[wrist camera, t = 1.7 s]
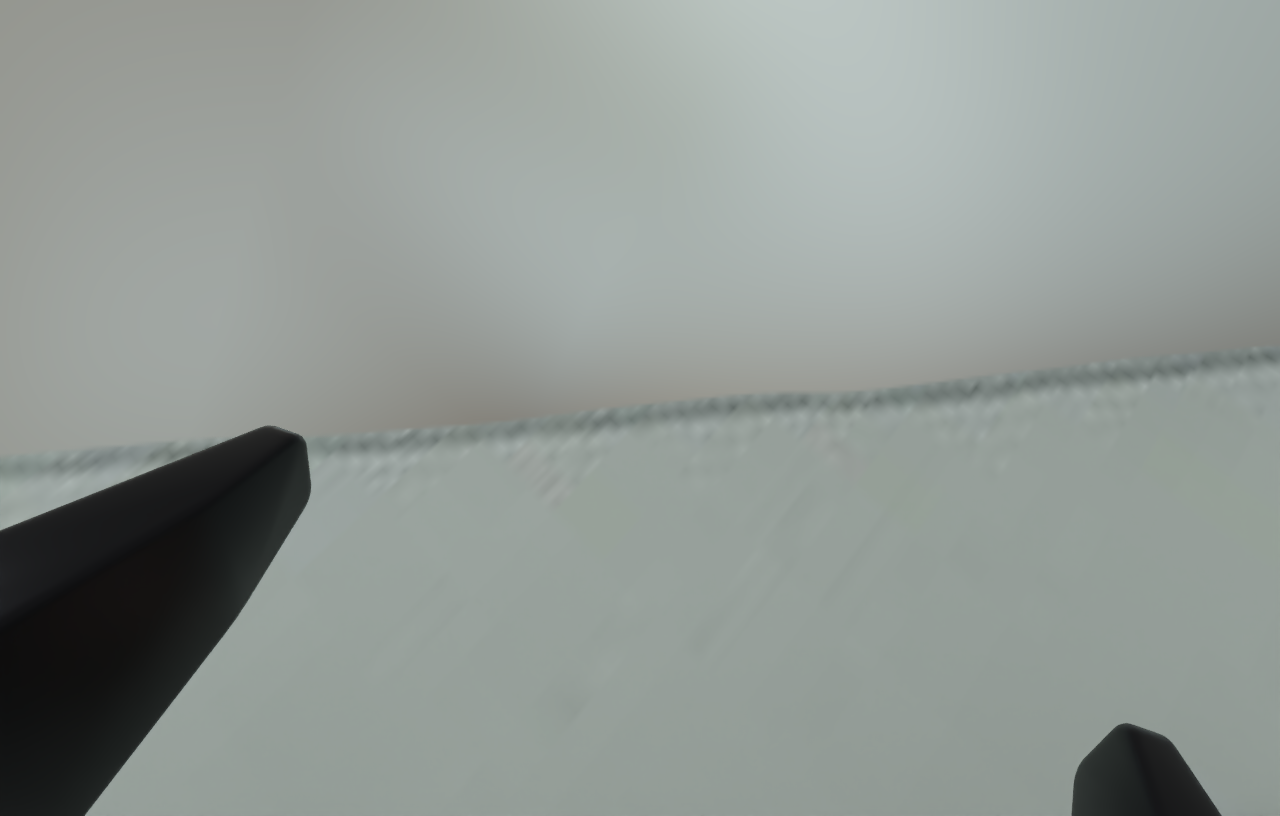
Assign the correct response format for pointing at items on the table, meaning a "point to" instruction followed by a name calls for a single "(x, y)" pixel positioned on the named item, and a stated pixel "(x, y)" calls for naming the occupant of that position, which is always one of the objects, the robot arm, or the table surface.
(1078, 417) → the table surface
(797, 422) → the table surface
